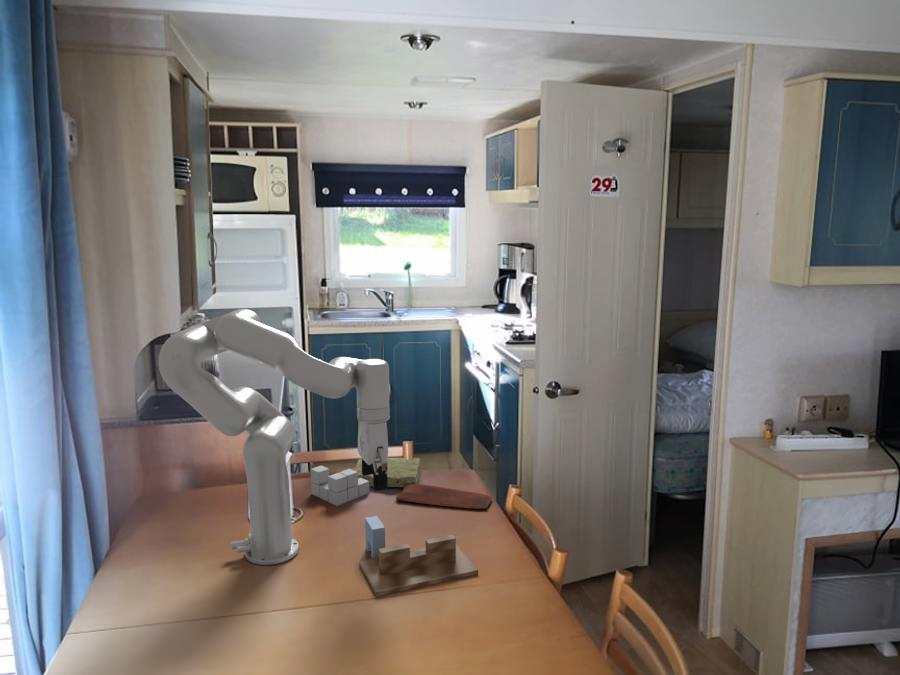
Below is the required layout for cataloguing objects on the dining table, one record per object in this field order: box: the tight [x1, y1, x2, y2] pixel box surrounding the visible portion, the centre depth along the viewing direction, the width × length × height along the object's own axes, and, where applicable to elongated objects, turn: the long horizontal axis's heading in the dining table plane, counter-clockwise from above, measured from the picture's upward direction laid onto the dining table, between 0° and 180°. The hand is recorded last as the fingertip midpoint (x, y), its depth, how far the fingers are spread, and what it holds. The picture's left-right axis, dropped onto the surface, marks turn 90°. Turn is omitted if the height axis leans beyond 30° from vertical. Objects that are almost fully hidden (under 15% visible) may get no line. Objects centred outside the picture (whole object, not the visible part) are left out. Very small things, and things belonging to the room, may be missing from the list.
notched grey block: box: [364, 515, 386, 559], centre depth 164 cm, size 7×3×8 cm, turn 22°
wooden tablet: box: [395, 483, 492, 510], centre depth 194 cm, size 27×10×2 cm, turn 75°
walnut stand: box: [359, 534, 479, 597], centre depth 157 cm, size 24×14×6 cm, turn 112°
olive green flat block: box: [353, 457, 422, 488], centre depth 210 cm, size 19×6×20 cm
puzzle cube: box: [310, 465, 370, 507], centre depth 198 cm, size 12×12×8 cm
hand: (374, 481), depth 162 cm, fingers open, 9 cm apart
